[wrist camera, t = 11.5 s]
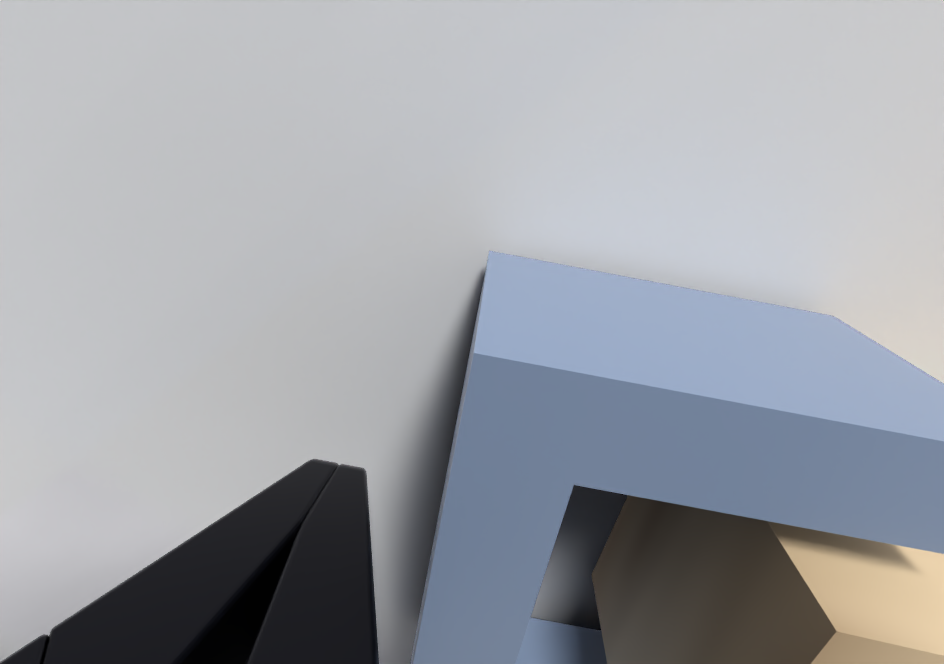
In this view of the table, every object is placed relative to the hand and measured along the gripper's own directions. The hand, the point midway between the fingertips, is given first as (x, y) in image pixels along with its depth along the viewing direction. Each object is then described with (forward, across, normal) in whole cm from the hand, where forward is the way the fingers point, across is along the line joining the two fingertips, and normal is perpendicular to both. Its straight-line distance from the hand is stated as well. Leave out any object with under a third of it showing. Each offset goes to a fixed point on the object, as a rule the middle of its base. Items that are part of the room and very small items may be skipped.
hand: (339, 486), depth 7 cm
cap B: (+1, -4, 0) cm, 4 cm away
